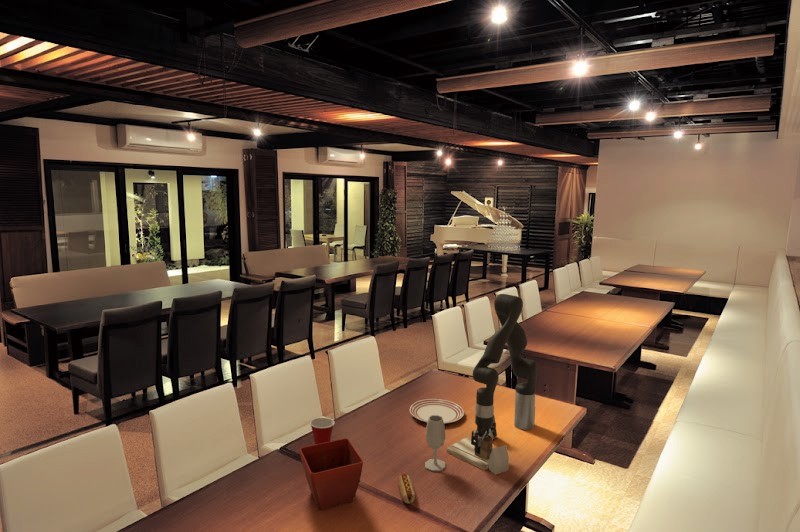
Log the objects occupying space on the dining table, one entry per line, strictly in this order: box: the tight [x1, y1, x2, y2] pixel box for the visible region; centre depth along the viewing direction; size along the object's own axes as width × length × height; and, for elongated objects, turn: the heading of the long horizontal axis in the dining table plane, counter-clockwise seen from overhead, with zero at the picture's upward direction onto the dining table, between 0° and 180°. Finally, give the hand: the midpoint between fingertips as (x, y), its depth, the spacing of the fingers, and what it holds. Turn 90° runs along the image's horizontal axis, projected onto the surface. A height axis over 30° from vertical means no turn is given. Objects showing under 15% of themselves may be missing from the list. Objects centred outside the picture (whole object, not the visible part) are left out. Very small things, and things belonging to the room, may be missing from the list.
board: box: [446, 436, 493, 471], centre depth 210 cm, size 14×20×2 cm
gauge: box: [474, 436, 494, 460], centre depth 206 cm, size 4×8×8 cm, turn 44°
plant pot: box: [299, 437, 364, 511], centre depth 180 cm, size 19×19×17 cm
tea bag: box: [488, 444, 510, 475], centre depth 198 cm, size 4×7×10 cm, turn 116°
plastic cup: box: [309, 417, 335, 445], centre depth 216 cm, size 11×11×12 cm
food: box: [397, 473, 416, 504], centre depth 182 cm, size 14×6×5 cm, turn 9°
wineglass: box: [424, 415, 446, 472], centre depth 200 cm, size 9×9×21 cm
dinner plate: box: [409, 398, 465, 425], centre depth 248 cm, size 28×27×3 cm
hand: (483, 449), depth 206 cm, fingers open, 8 cm apart
